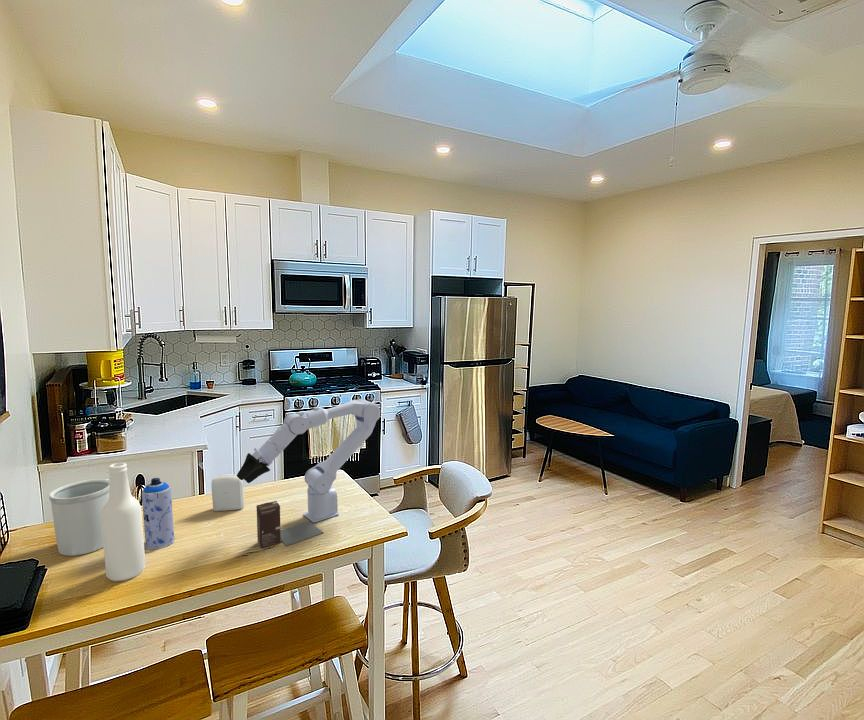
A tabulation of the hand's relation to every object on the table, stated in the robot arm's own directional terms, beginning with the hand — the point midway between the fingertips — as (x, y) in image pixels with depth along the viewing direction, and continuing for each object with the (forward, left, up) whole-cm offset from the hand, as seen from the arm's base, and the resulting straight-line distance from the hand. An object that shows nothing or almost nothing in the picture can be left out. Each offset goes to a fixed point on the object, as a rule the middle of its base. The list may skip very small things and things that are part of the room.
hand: (242, 479), depth 142 cm
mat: (-13, +9, -18) cm, 24 cm away
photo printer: (-2, -23, -18) cm, 29 cm away
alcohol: (+31, 0, -18) cm, 36 cm away
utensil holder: (+38, -25, -18) cm, 49 cm away
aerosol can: (+21, -12, -18) cm, 30 cm away
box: (-4, +9, -18) cm, 21 cm away
